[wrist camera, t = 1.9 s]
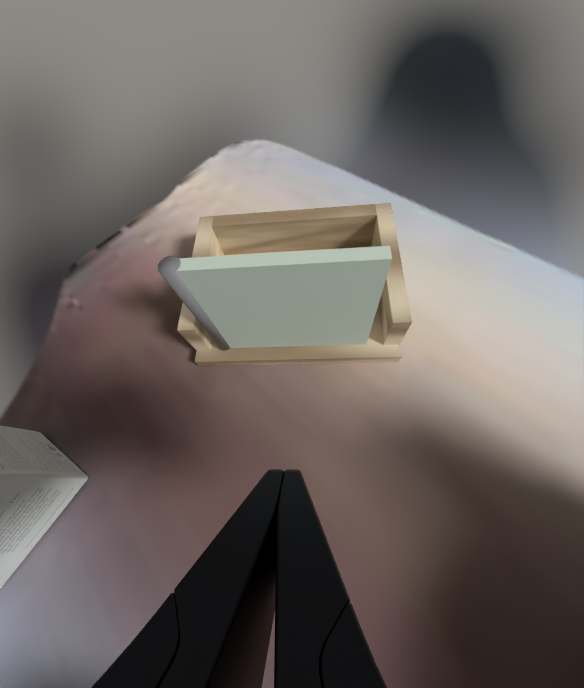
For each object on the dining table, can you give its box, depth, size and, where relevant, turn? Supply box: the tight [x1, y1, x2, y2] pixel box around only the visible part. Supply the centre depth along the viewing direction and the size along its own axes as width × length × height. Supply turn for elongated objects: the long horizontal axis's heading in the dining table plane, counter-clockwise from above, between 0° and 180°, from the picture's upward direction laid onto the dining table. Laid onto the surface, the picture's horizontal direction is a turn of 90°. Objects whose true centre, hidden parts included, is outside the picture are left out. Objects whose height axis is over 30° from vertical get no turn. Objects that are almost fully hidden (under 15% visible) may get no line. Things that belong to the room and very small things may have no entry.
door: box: [158, 246, 392, 351], centre depth 19 cm, size 1×12×10 cm, turn 90°
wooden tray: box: [177, 203, 412, 366], centre depth 24 cm, size 12×16×4 cm
